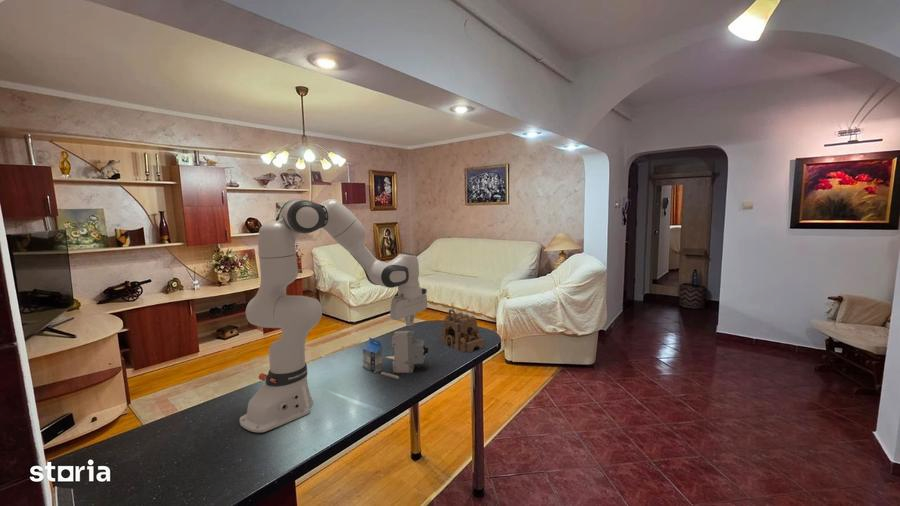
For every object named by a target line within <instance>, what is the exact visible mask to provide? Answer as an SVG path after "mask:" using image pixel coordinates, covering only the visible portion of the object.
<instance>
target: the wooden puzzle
mask: <svg viewBox="0 0 900 506" xmlns="http://www.w3.org/2000/svg"><path fill="white" fill-rule="evenodd" d="M452 313H453V314H452ZM443 325H444V327H443V326H442V330H441V332H439V339H440V340H442V341H441V342H442V343H444V344H445V345H446V346H449V345H450V349H455V350H456V351H460V352H462V353H464V352H467V353H471V352H474V349H475V348H477V349H483V348H485V339H484V338H482V337H481V333H479V328H478V320H477V318H476V317H475V316H474V315H471V316H470V314H468V313H463V312H461V311H460V312H456V311H455V309H453V308H452V309H451V308H450V309H449V310H448V314H447V315H446V317H445V318H444V319H443Z"/></svg>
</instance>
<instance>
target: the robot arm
mask: <svg viewBox="0 0 900 506" xmlns="http://www.w3.org/2000/svg"><path fill="white" fill-rule="evenodd" d="M320 229H323V230H325V231H326V232H327V233H328V234H329V236H330V237H332V239H333V240H334V241H335V242H336V243H338V245H340V246H341V247H342V248H344V249H345V250H346V251H347V252H348V253H349V254H350V256H352V257H353V258H354V260H355V261H356V262H357V263H358V264H359V266H360V267H361V268H362V269H363V271H364V274H365V276H366V279H367V281H368V282H369V283H370V284H372V285H374V286H381V287H384V288H388V289H393V288H396V287H397V295H395V296H393V298H392V299H391V303H390V312H389V315H390V319H391V320H394V321H400V320H402V319H403V320H404V321H405V326H406V327H410V326H413V325H414V323H415V322H414V321H415V318H416V314H418V313H421V312H423V311H425V310H427V307H428V296H427V293H428V288H425V287H420V281H419V276H420V265H419V259H418V257H417V255H415V254H414V253H413V254H412V253H406V252H401V253H398V254H397V255H396V257H394V258H393V259H392V260H390V261H388V262H385V261H382V260H380V259H378V258H376V257H375V256H374V255H373V253H372V252H371V251H370V250H369V249H368V248H367V246H366V244H365V243H364V241H365V239H366V237H367V236H366V235H367V230H366V228H365V227H364V226H363V224H362V223H361V221H360V220H359V219H358V217H357V216H355V214H354V213H353V212H351V210H349V208H347V207H346V206H345V204H343V203H342V202H340V201H339V200H337V199H335V198H329V199H325V200H324V201H322V202H321V203H320V204H319V203H318V202H317V203H316V202H314V201H312V200H307V199H301V198H299V199H291V200H288V201H287V202H285V203H284V204H283V205H282V207H281V208H280V210H279V212H278V215H277V216H276V219H275V220H273V221H272V220H271V221H269V222H265V223H264V224H262V225H261V226H260V228H259V230H258V239H257V241H258V242H257V249H258V250H257V251H258V252H257V253H258V259H259V268H260V269H259V270H260V283H259V288H258V290H257V293H256V294H255V296H254V297H253V298H251V299H250V300H249V302H248V303H247V305H246V308H245V318H246V320H247V322H248V323H250V324H251V325H253V326H257V327H260V328H265V329H270V328H271V329H281V335H280V338H278V339H276V340H274V341H273V342H272V343H271V345H270V346H269V348H268V358H269V370H268V371H267V374H266V373H263V372H262V373H259V375H258V377H257V378H258V380H261V381H265V383H264V384H263V385H262V386H261V387H260V388H259V389H258V390H257V392H256V393H255V394H254V395H253V396H252V397H251V398H250V399H249V400H248V402H247V410H246V413H245V414H244V415H242V416H240V417H239V425H240V427H242V428H243V429H245V430H247V431H249V432H253V433H265V432H268V431H270V430H272V429H275V428H278V427H280V426H282V425H284V424H287V423H289V422H291V421H294V420H297V419H299V418H301V417H303V416H307V415H308V414H310V412H311V407H312V405H313V403H314V401H313V399H312V396H311V392H310V389H309V384H308V365H307V363H306V340H307V337H308V335H309V333H310V332H311V330H312V329H313V328H315V327H316V326H317V325H318V324H319V322H320V321H321V319H322V315H323V306H322V304H321V302H320V301H319V300H318V299H317V298H315V297H312V296H311V297H310V296H306V295H288V294H287V287H288V286H289V285H290V284H291V285H292V283H293V282H295V280H296V279H297V278H298V276H299V268H298V267H299V266H298V259H297V249H296V238H297V236H298V235H299V233H300V234H311V233H314V232H316V231H318V230H320Z"/></svg>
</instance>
